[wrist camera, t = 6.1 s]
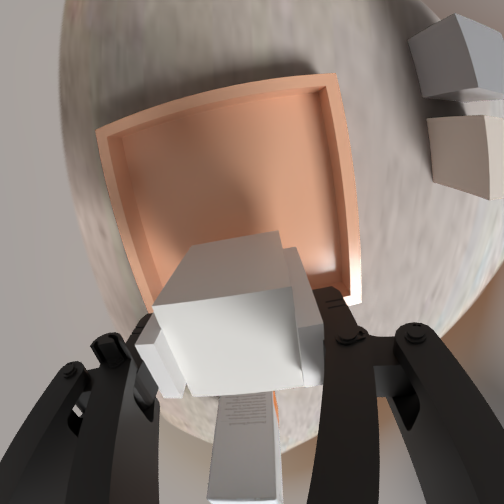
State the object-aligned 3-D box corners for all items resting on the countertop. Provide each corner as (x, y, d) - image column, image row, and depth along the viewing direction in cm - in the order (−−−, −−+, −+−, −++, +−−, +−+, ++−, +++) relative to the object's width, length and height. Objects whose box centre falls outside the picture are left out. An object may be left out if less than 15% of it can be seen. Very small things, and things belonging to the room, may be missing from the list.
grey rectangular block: (407, 40, 12) (454, 13, 6) (451, 49, 11) (500, 33, 6) (422, 97, 13) (478, 87, 8) (465, 102, 13) (519, 99, 7)
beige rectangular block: (425, 118, 14) (484, 115, 8) (468, 121, 14) (523, 123, 8) (432, 182, 16) (489, 200, 10) (473, 178, 15) (527, 195, 10)
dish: (115, 131, 15) (95, 129, 12) (324, 83, 14) (335, 73, 11) (167, 312, 19) (156, 332, 17) (349, 284, 18) (361, 302, 16)
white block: (191, 245, 14) (151, 306, 8) (278, 229, 14) (291, 286, 8) (212, 318, 16) (193, 396, 10) (290, 306, 15) (304, 386, 10)
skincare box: (279, 406, 23) (284, 517, 12) (235, 409, 24) (226, 518, 12) (272, 364, 21) (278, 500, 10) (221, 368, 21) (202, 500, 10)
